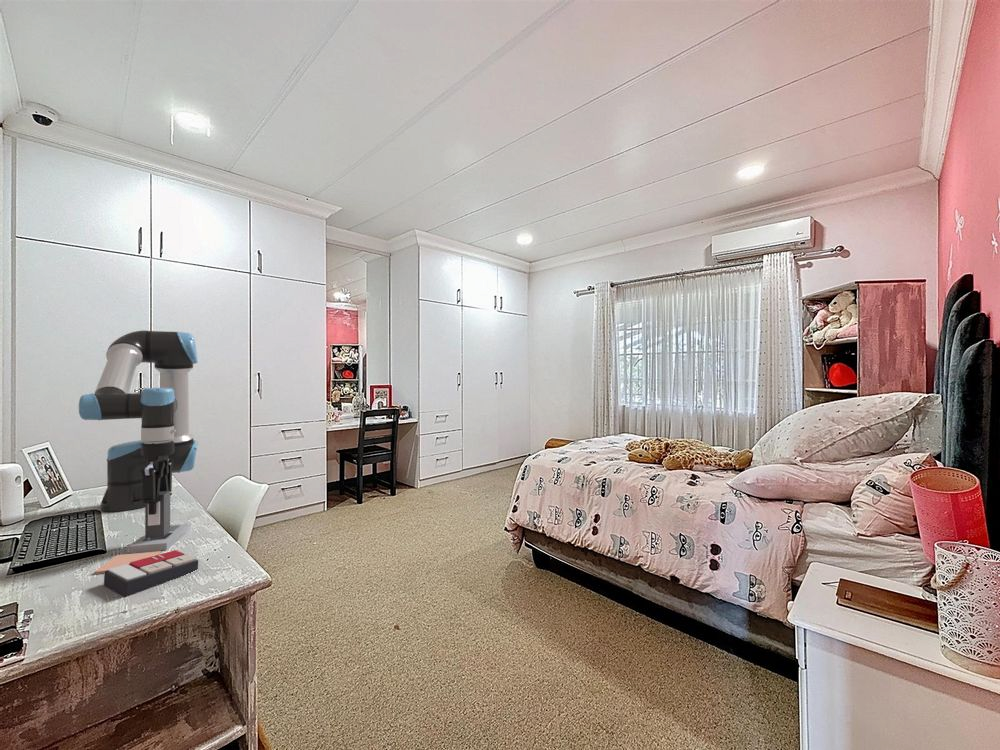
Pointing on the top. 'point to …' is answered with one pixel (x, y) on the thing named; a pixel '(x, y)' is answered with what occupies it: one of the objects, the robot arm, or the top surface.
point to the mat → (124, 560)
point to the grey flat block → (159, 540)
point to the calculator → (148, 572)
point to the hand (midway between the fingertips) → (158, 521)
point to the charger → (164, 517)
